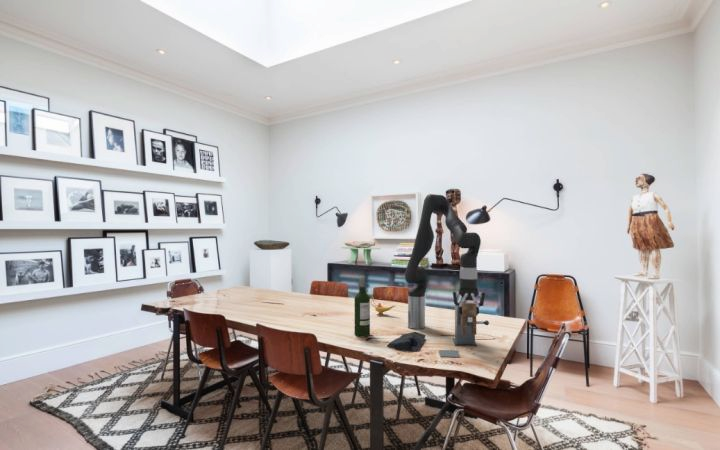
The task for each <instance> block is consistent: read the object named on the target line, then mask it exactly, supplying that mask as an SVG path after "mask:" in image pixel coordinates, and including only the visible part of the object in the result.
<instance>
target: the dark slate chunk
mask: <svg viewBox="0 0 720 450" xmlns="http://www.w3.org/2000/svg"><path fill="white" fill-rule="evenodd" d="M425 338H426V335H425V334H423V333H420V332H417V331H412V332H407V333H403V334H401V335H400V336H399V337H398V338H395V339H393V340H391V341H390V342H389V343H388V344H387V345H386V347H387V348H388V349H392V350H397V351H403V352H418V351H419V349H420V348H421V347H422V345H423V343H424V340H425Z"/></svg>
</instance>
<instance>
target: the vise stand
mask: <svg viewBox="0 0 720 450" xmlns="http://www.w3.org/2000/svg"><path fill="white" fill-rule="evenodd" d="M471 322H472V316H466V334H462V333H461V315H460V314H459V312H458V306H457V305H455V304H454V338H452V342H453V343H454V346H456V347H457V346H458V347H461V346H462V347H478V343H477V341H476V335H473V334H472V332H471ZM476 325H485V326H488V325H490V321H489V320H484V321H483V320H481V321H479V320H476Z"/></svg>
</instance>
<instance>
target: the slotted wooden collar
mask: <svg viewBox="0 0 720 450" xmlns="http://www.w3.org/2000/svg"><path fill="white" fill-rule="evenodd" d="M466 316H472V322H471V332H472V334H473V335H475V336H476V335H477V324H476V321H477V316H476V305H475V303H474V302H464V303H463V304H462V315H461V333H462V334H466Z"/></svg>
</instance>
